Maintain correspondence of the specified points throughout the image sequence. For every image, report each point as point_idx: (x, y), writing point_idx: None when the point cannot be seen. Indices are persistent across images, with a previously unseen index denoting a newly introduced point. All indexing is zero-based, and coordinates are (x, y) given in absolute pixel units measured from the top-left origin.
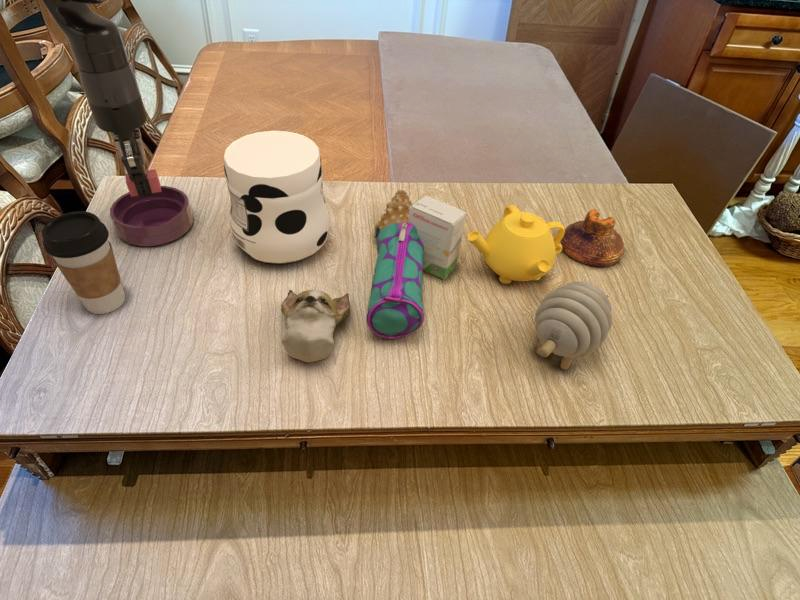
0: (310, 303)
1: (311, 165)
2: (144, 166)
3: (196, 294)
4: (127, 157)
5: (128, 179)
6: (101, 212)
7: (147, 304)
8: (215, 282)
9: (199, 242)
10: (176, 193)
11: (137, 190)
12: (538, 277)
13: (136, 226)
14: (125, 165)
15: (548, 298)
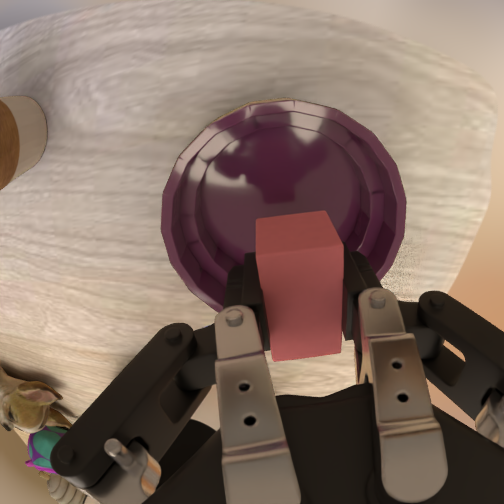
0: (2, 425)
1: None
2: (350, 336)
3: (49, 287)
4: (72, 485)
5: (276, 267)
6: (383, 52)
7: (18, 212)
8: (79, 315)
9: (194, 297)
10: None
11: (244, 269)
12: None
13: (168, 201)
14: (71, 435)
15: (74, 498)
